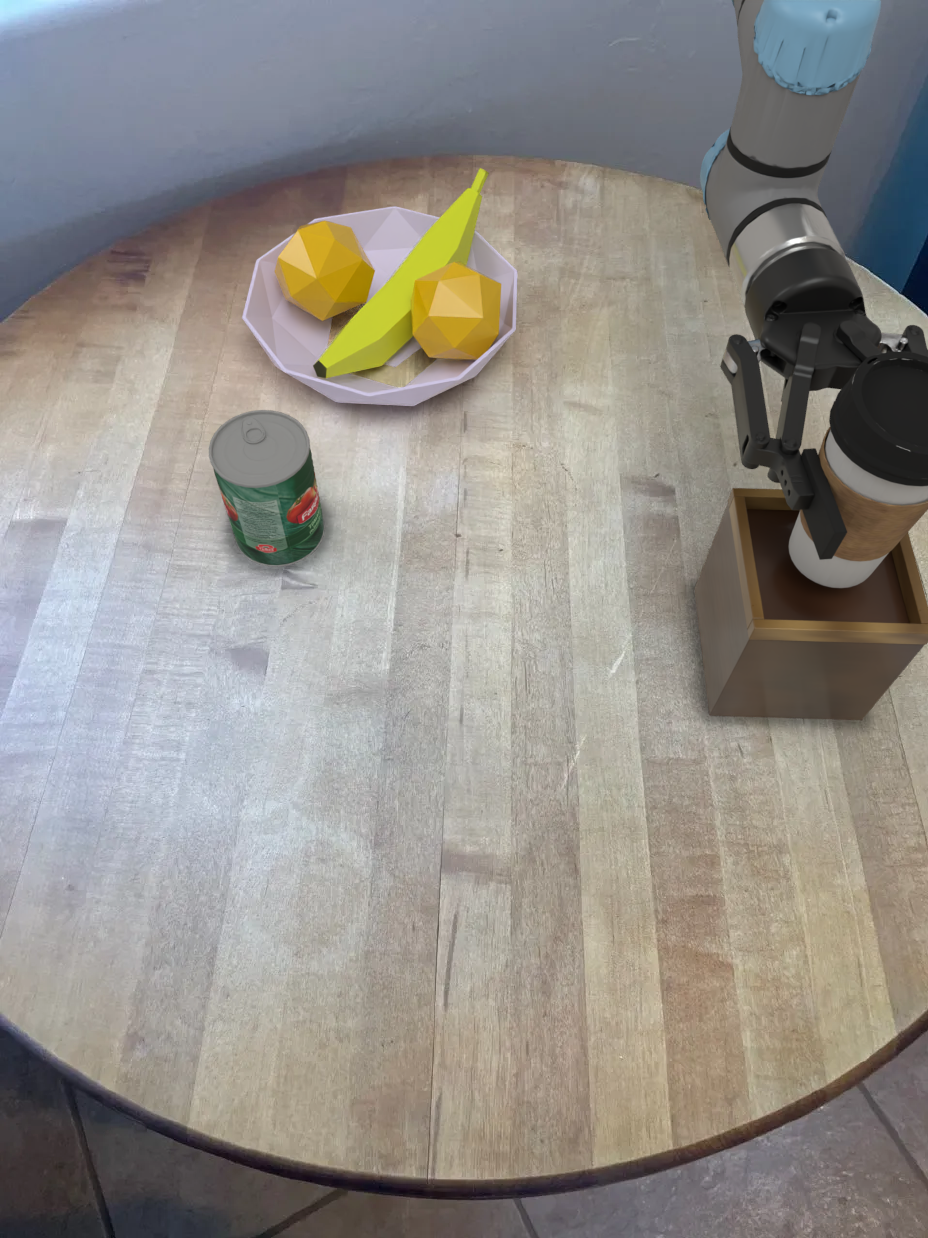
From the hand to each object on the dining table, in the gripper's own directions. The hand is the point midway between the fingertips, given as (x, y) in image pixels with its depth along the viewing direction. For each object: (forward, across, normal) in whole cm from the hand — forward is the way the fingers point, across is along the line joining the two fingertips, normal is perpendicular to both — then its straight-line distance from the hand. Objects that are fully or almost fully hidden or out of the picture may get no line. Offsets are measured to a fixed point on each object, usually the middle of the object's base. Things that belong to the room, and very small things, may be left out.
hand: (900, 541), depth 58 cm
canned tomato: (-21, +40, -22) cm, 50 cm away
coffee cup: (-5, 0, -8) cm, 10 cm away
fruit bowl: (-45, +29, -22) cm, 57 cm away
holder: (-5, 0, -22) cm, 22 cm away
